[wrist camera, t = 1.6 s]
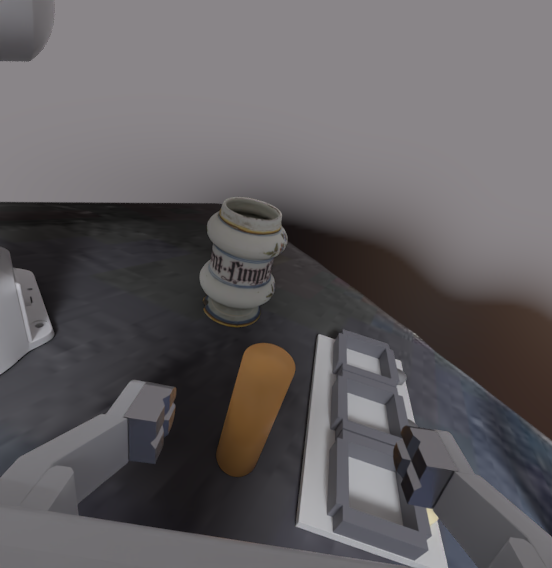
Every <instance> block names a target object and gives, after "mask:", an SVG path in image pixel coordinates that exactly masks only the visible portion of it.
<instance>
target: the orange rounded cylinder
mask: <svg viewBox="0 0 552 568" xmlns="http://www.w3.org/2000/svg"><path fill="white" fill-rule="evenodd" d="M294 373H295V363H294V361H293V359H292V357H291V356H290V355H289V353H288V352H286V351H285V350H284V349H282V348H281V347H279V346H276V345H273V344H269V343H258V344H254V345H252V346H250V347H249V348H247V349H246V351H245V352H244V354H243V358H242V361H241V365H240V368H239V372H238V375H237V379H236V383H235V386H234V390H233V393H232V397H231V401H230V404H229V408H228V411H227V415H226V419H225V422H224V426H223V429H222V433H221V436H220V440H219V444H218V447H217V451H216V459H217V463H218V465H219V467H220V468H221V469H222V470H223V471H224V472H225V473H226V474H228V475H230V476H234V477H242V476H245V475H247V474H249V473H250V472H251V471H252V470H253V469H254V468H255V466H256V464H257V461H258V459H259V457H260V454H261V452H262V450H263V447H264V445H265V442H266V440H267V438H268V435H269V433H270V431H271V428H272V426H273V423H274V421H275V419H276V416H277V414H278V412H279V409H280V407H281V404H282V402H283V400H284V397H285V395H286V393H287V390H288V388H289V385H290V383H291V381H292V378H293V376H294Z"/></svg>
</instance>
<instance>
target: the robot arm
mask: <svg viewBox="0 0 552 568" xmlns="http://www.w3.org/2000/svg"><path fill="white" fill-rule="evenodd" d="M54 13H55V4H54V0H0V61H31V60H32V59H33V58H35V57H36V56H37V55H38V54H39V53H40V52H41V51H42V50H43V48H44V47H45V45H46V43H47V42H48V39H49V37H50V35H51V32H52V27H53V23H54ZM53 337H54V331H53V328H52V325H51V322H50V319H49V316H48V314H47V311H46V308H45V305H44V302H43V299H42V296H41V294H40V291H39V288H38V285H37V282H36V279H35V277H34V274H33V273H32V272H31V271H28V270H24V269H19V268H13V265H12V261H11V256H10V252H9V251H8V250H7V249H5V248H2V247H0V374H2V373H3V372H5V371H6V370H7V369H9V368H10V367H11V366H12V365H14V364H15V363H16V362H17V361H18V360H19V359H20V358H21V357H22V356H24V355H25V354H26V353H27V352H29V351H30V350H32V349H34V348H36V347H38V346H40V345H42V344H44V343H46V342H48V341H49V340H51V339H52V338H53ZM175 397H176V388H175V387H172V386H166V385H161V384H156V383H151V382H143V381H138V380H132V381H130V382H129V383H128V384H127V386H126V387H125V389H124V390H123V391H122V393H121V394H120V396H119V397H118V398H117V400H116V401H115V402H114V404H113V405H112V407H111V408H110V409H109V411H108V412H107V413H106V415H105V414H100V415H98V416H96V417H95V418H93V419H91V420H89V421H87V422H85V423H83V424H81V425H79V426H78V427H76V428H74V429H72V430H70V431H68V432H66V433H64V434H62V435H61V436H59V437H57V438H55V439H53V440H51V441H49V442H47V443H45V444H44V445H42V446H40V447H38V448H36V449H34V450H32V451H30V452H28V453H27V454H25V455H23V456H21V457H19V458H18V459H17V460H16V461H15V462H14V463H13V465H12V466H11V467H10V468H9V469H8V470H7V471H6V472H5V473H4V474H3V476H2V477H1V478H0V568H414V567H407V566H401V565H394V564H388V563H381V562H375V561H368V560H362V559H355V558H349V557H342V556H336V555H329V554H323V553H316V552H310V551H303V550H297V549H290V548H284V547H278V546H271V545H265V544H258V543H252V542H246V541H239V540H233V539H226V538H220V537H213V536H207V535H200V534H194V533H187V532H181V531H175V530H168V529H162V528H155V527H149V526H142V525H136V524H129V523H123V522H116V521H110V520H104V519H97V518H91V517H84V516H79V515H78V506H77V504H78V503H79V502H81V501H82V500H83V499H84V498H85V497H87V496H88V495H89V494H90V493H92V492H93V491H94V490H95V489H96V488H98V487H99V486H100V485H101V484H102V483H104V482H105V481H106V480H107V479H108V478H110V477H111V476H112V475H113V474H115V473H116V472H117V471H118V470H119V469H121V468H122V467H123V466H124V465H125V464H127V463H128V461H136V462H144V463H152V464H155V463H156V461H157V458H158V456H159V454H160V452H161V449H162V447H163V438H164V437H165V436H167V435H168V434H169V431H170V429H171V426H172V423H173V420H174V415H175V407H176V406H175V404H174V403H173V402H174V400H175ZM400 434H401V436H402V439H400V440H399V441H397V442H396V444H395V447H394V449H393V461H394V466H395V469H396V472H397V473H398V474H399V475H400V476H401V477H402V478H403V479H402V482H401V487H402V490H403V493H404V496H405V499H406V502H407V504H409V505H414V506H419V507H425V508H430V509H433V512H434V513H435V514H436V515H437V517H438V518H439V519H440V520H441V522H442V523H443V524H444V525H445V527H446V528H447V529H448V530H449V532H450V533H451V534H452V535H453V537H454V538H455V539H456V540H457V542H458V543H459V544H460V545H461V547H462V548H463V549H464V550H465V552H466V553H467V554H468V555H469V557H470V558H471V559H472V560H473V562H474V563H475V564H476V565H477V567H478V568H552V537H551V536H550V535H549V534H548V533H547V532H545V531H544V530H543V529H542V528H541V527H540V526H538V525H537V524H536V523H535V522H534V521H532V520H531V519H530V518H529V517H528V516H527V515H525V514H524V513H523V512H522V511H521V510H520V509H518V508H517V507H516V506H515V505H514V504H512V503H511V502H510V501H509V500H508V499H507V498H505V497H504V496H503V495H502V494H501V493H500V492H498V491H497V490H496V489H495V488H494V487H492V486H491V485H490V484H489V483H488V482H487V481H485V480H484V479H483V478H482V477H481V476H479V475H475V474H474V472H473V470H472V469H471V467H470V465H469V464H468V462H467V460H466V458H465V457H464V455H463V453H462V452H461V450H460V448H459V446H458V445H457V443H456V441H455V440H454V438H453V436H452V435H451V434H450V433H449V432H447V431H440V430H432V429H426V428H420V427H414V426H407V425H405V426H404V427H403V428H402V430H401V433H400Z"/></svg>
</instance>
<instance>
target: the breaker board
mask: <svg viewBox="0 0 552 568" xmlns="http://www.w3.org/2000/svg"><path fill="white" fill-rule="evenodd" d="M406 379H407V376H406V374H405V373H404V372H403V369H402V365H401V361H399V360H396V359H395V356H394V352H393V350H391V349H389V344H387V343H384V342H380V341H377V340H374V339H371V338H368V337H365V336H362V335H359V334H356V333H353V332H350V331H347V330H344V329H343V330H342V332H341V333H339V334H338V336H337V338H336V340H335V339H332V338H329V337H326V336H323V335H320V334H318V337H317V340H316V349H315V358H314V367H313V376H312V384H311V393H310V402H309V411H308V420H307V429H306V438H305V446H304V455H303V464H302V473H301V482H300V491H299V500H298V508H297V517H296V527H299V528H302V529H304V530H307V531H310V532H313V533H316V534H319V535H322V536H325V537H327V538H330V539H333V540H336V541H339V542H342V543H345V544H347V545H350V546H353V547H356V548H359V549H362V550H365V551H368V552H370V553H373V554H376V555H379V556H382V557H385V558H388V559H390V560H393V561H396V562H399V563H402V564H405V565H408V566H411V567H414V568H448V565H447V561H446V557H445V552H444V548H443V544H442V539H441V535H440V530H439V526H438V522H437V520H438V517H437V515H436V514H435V513H434V512H433V509H430V508H425V507H419V506H414V505H409V504H407V502H406V499H405V496H404V493H403V490H402V487H401V482H402V479H403V478H402V477H401V476H400V475H399V474H398V473H397V472H396V469H395V466H394V461H393V449H394V447H395V444H396V442H397V441H399V440H400V439H402V436H401V434H400V433H401V430H402V428H403V427H404V426H405V425H407V426H414V427H418V426H417V425H416V424H415V421H414V417H413V413H412V408H411V404H410V400H409V395H408V391H407V387H406V382H405V380H406Z"/></svg>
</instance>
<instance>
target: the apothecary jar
mask: <svg viewBox="0 0 552 568" xmlns="http://www.w3.org/2000/svg"><path fill="white" fill-rule="evenodd" d="M281 219H282V214H281V212H280V211H279V210H278V209H277V208H276V207H274V206H272V205H270V204H268V203H266V202H263V201H259V200H256V199H252V198H246V197H232V198H228V199H226V200H225V201H224V202H223V204H222V208H221V209H220V211H219V212H217V213H215V214H214V215H213V216H212V217H211V218H210V219H209V221H208V224H207V233H208V236H209V238H210V240H211V241H212V242H213V247H212V254H211V260H209V261H208V262H207V263H206V264H205V265H204V266H203V268H202V269H201V272H200V284H201V286H202V288H203V290H204V291H205V293H206V294H207V295H206V296H205V298H204V299H203V303H204V305H205V307H204V312H205V313H206V315H207V316H208V317H209V318H210V319H212V320H214V321H215V322H217V323H219V324H222V325H225V326H229V327H244V326H248V325H251V324H253V323H254V322H256V321H257V320H258V318H259V316H260V314H261V310H260V306H259V305H262V304H264V303H265V302H267V301H268V300H269V299H270V298H271V297H272V295H273V293H274V291H275V280H274V277H273V275H272V273H271V270H272V266H273V262H274V258H275V256H277V255H279V254H280V253H281V252H282V251H283V250H284V249H285V247H286V245H287V235H286V232H285V230H284V228H283V227H282V226H281Z"/></svg>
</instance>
